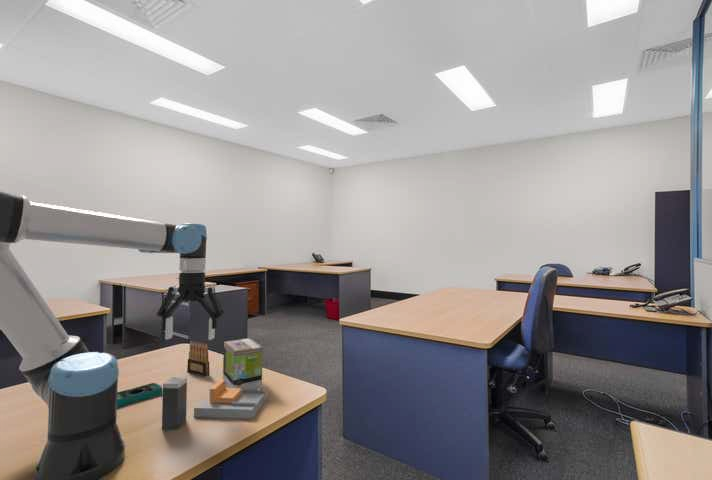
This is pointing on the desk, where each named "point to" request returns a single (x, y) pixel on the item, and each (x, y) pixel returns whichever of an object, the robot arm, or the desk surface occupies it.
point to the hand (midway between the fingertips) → (190, 338)
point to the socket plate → (233, 406)
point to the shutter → (223, 393)
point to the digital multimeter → (138, 394)
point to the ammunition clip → (198, 359)
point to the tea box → (243, 364)
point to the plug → (174, 403)
